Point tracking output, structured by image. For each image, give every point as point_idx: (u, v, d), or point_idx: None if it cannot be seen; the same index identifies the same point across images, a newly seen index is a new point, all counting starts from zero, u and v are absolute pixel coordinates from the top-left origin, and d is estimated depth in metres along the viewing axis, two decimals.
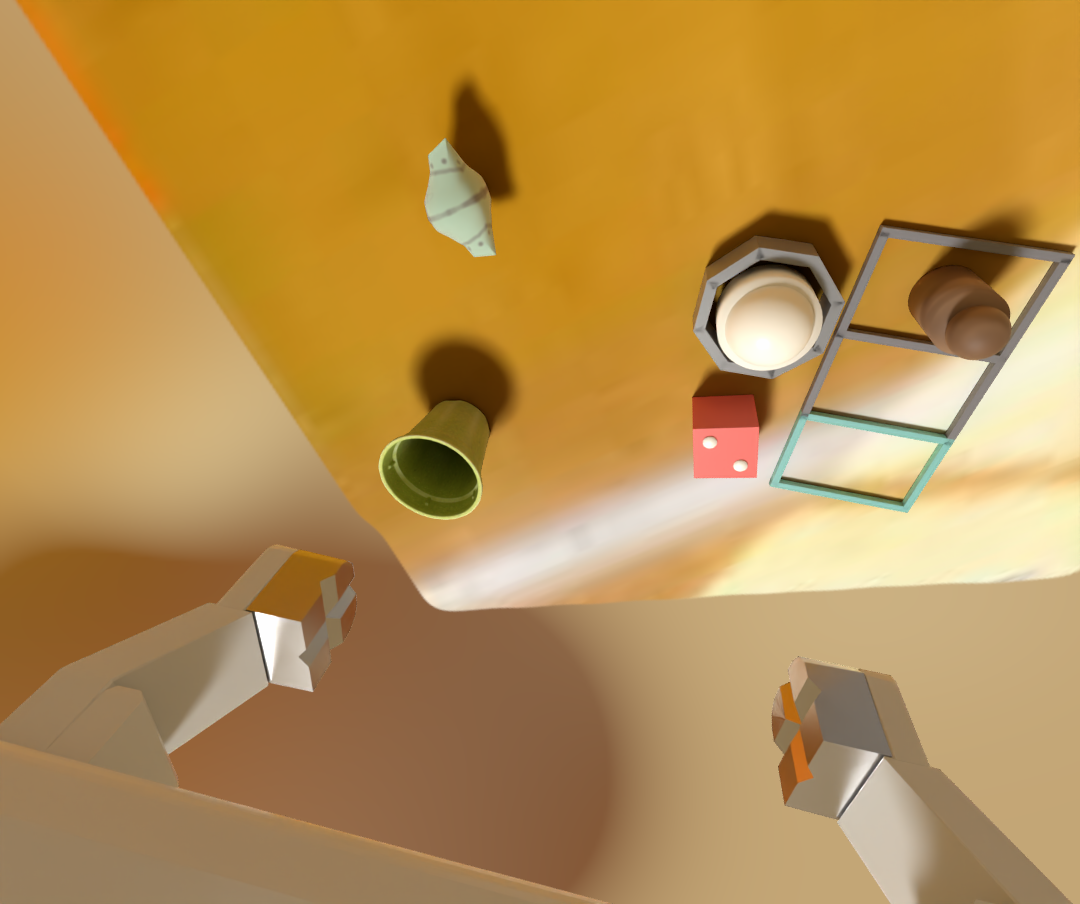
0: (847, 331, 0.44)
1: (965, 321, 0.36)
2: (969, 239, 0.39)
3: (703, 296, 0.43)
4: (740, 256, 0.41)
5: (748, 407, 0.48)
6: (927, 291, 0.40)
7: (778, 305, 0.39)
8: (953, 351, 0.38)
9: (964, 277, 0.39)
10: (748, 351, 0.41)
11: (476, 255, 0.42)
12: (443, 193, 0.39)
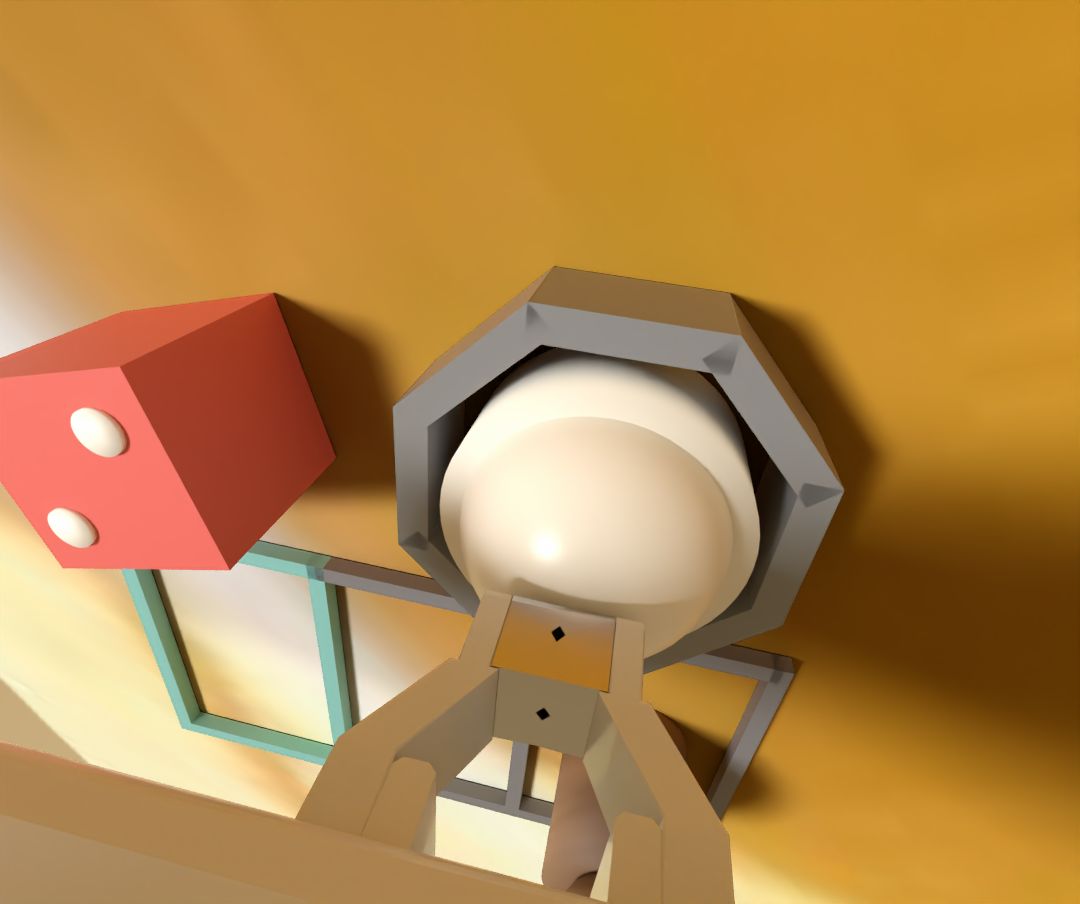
0: None
1: None
2: None
3: (673, 327, 0.11)
4: (806, 428, 0.12)
5: (292, 479, 0.16)
6: None
7: (696, 603, 0.11)
8: None
9: None
10: (526, 546, 0.11)
11: None
12: None
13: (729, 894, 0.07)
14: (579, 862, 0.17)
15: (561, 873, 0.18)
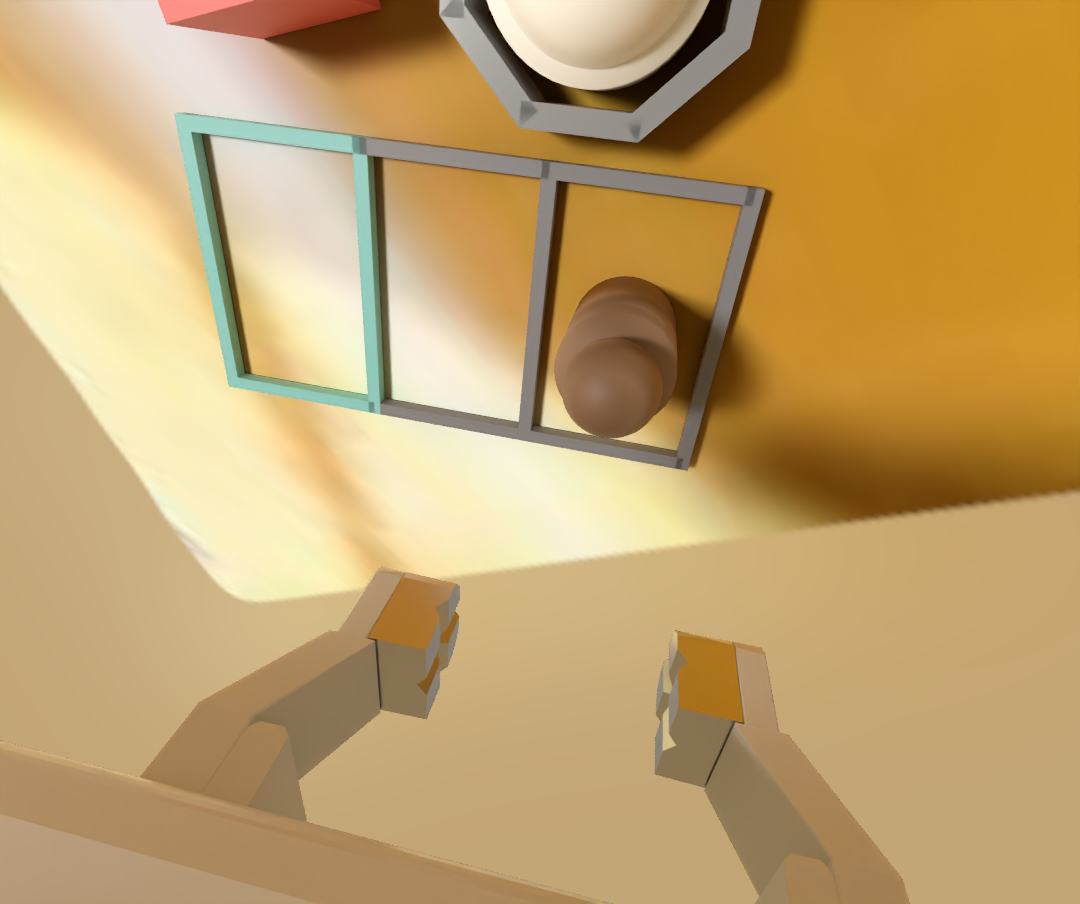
0: (555, 182, 0.22)
1: (641, 362, 0.19)
2: (723, 337, 0.24)
3: None
4: None
5: None
6: (649, 297, 0.22)
7: None
8: (577, 360, 0.19)
9: None
10: None
11: None
12: None
13: None
14: (586, 335, 0.21)
15: (571, 358, 0.21)
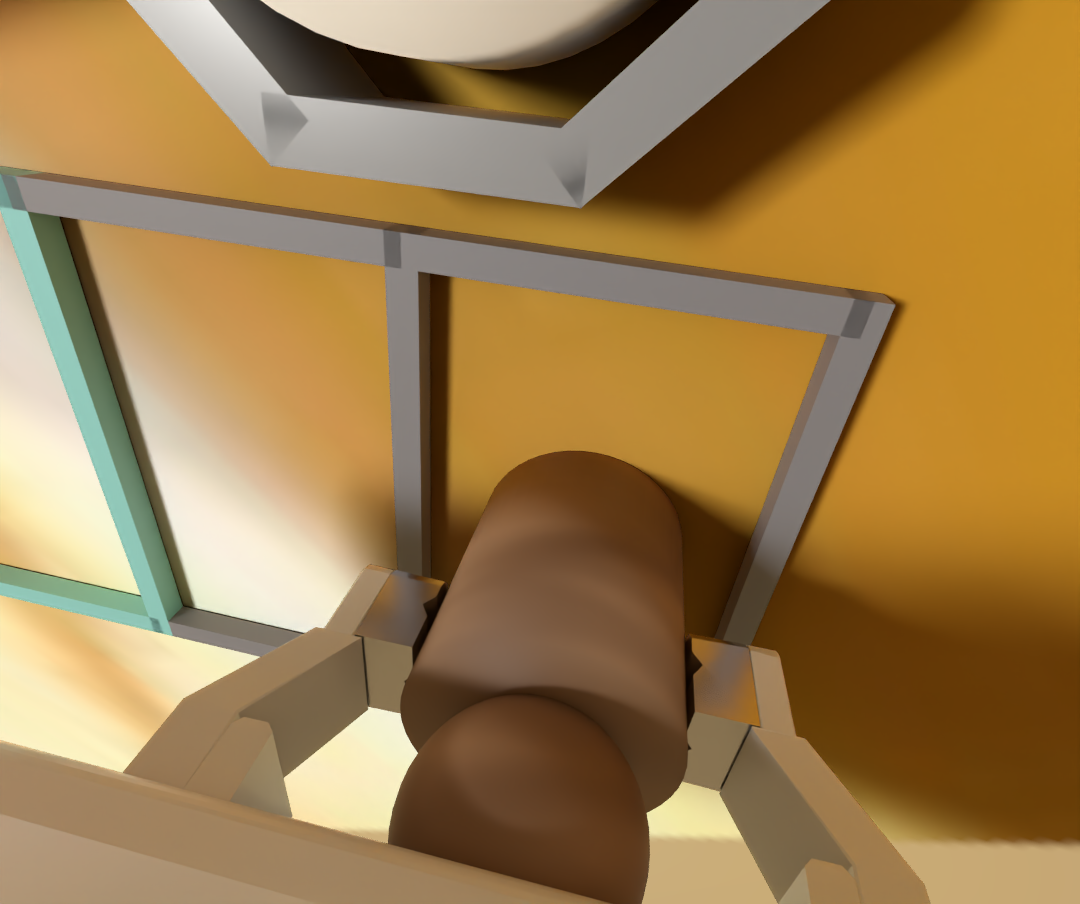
0: (416, 276, 0.10)
1: (588, 845, 0.07)
2: (778, 573, 0.12)
3: None
4: None
5: None
6: (623, 526, 0.10)
7: None
8: (414, 810, 0.07)
9: None
10: None
11: None
12: None
13: None
14: (464, 672, 0.08)
15: (435, 706, 0.09)
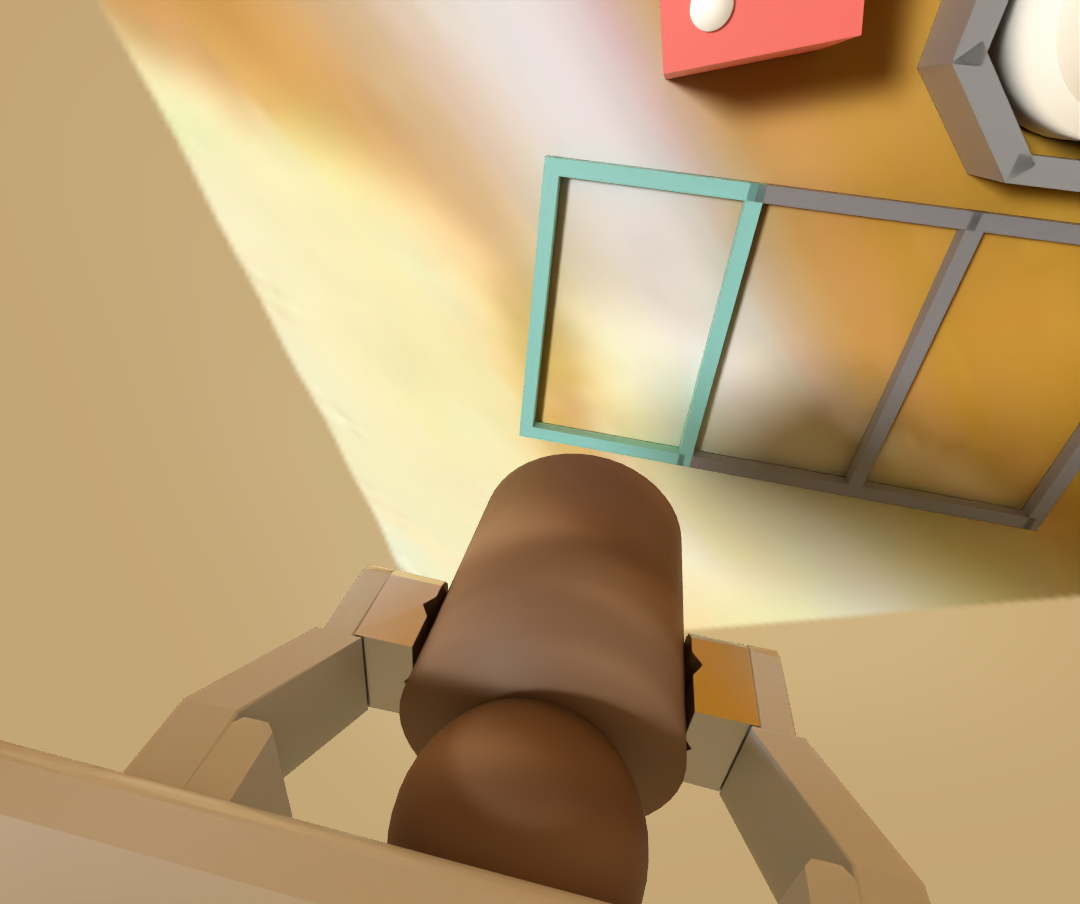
0: (980, 234, 0.21)
1: (586, 849, 0.07)
2: None
3: None
4: None
5: None
6: (622, 529, 0.10)
7: None
8: (412, 815, 0.07)
9: (683, 626, 0.11)
10: None
11: None
12: None
13: None
14: (463, 675, 0.08)
15: (434, 709, 0.09)
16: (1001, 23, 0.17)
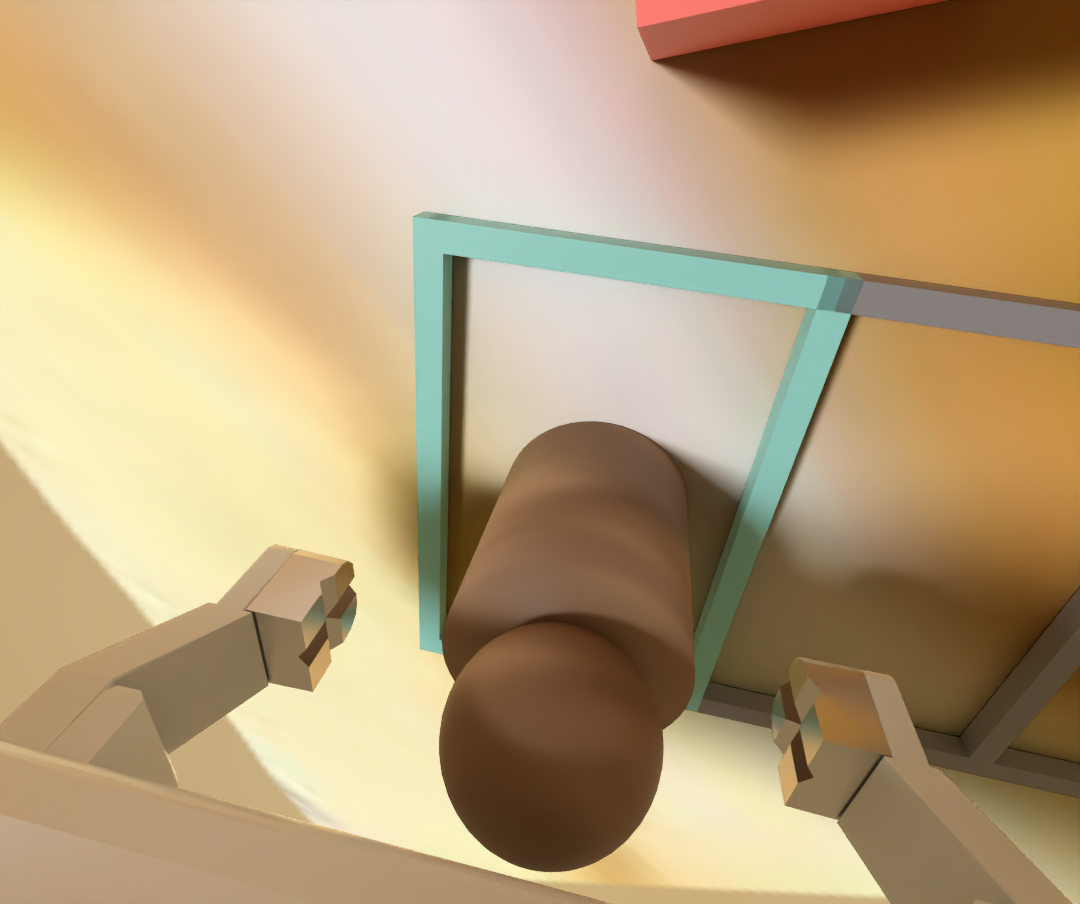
0: None
1: (613, 731, 0.08)
2: None
3: None
4: None
5: None
6: (636, 484, 0.11)
7: None
8: (464, 708, 0.08)
9: (690, 571, 0.12)
10: None
11: None
12: None
13: None
14: (500, 603, 0.10)
15: (473, 636, 0.10)
16: None
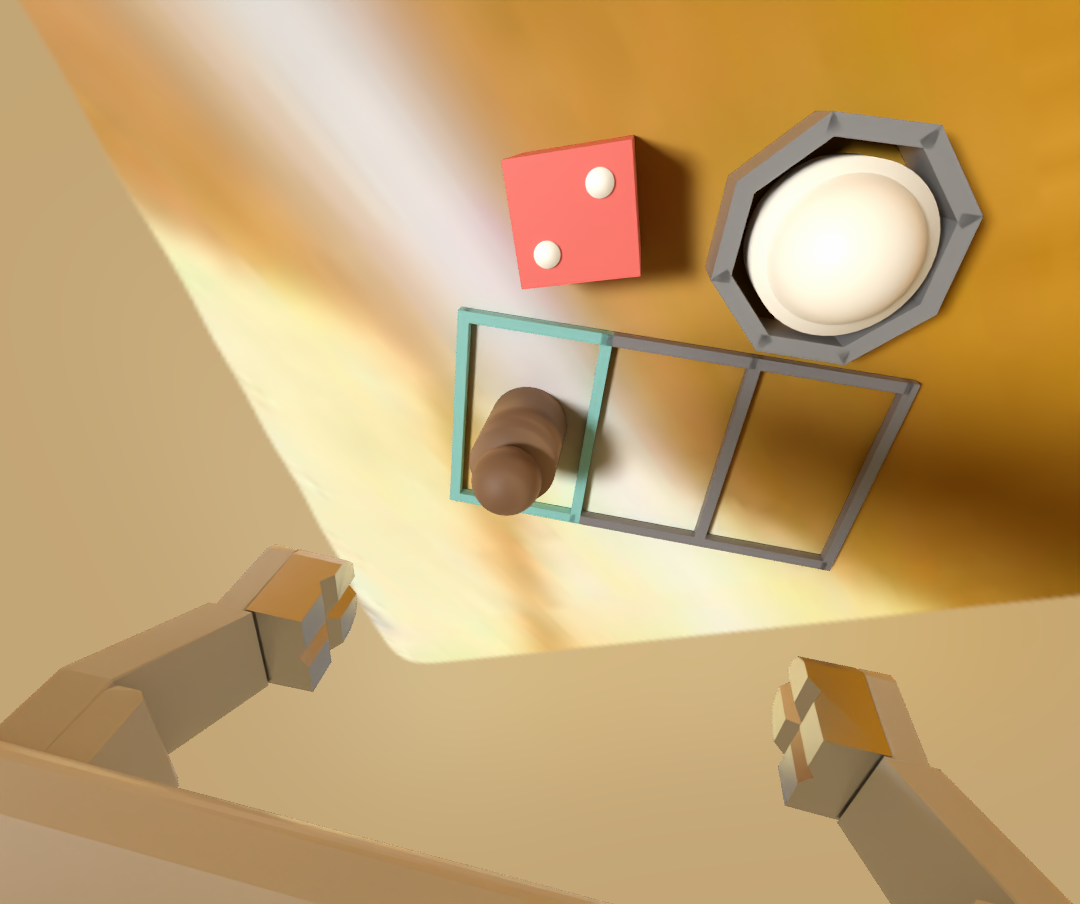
0: (759, 372, 0.30)
1: (523, 466, 0.27)
2: (873, 478, 0.32)
3: (907, 122, 0.22)
4: None
5: None
6: (540, 407, 0.31)
7: (916, 264, 0.22)
8: (480, 464, 0.28)
9: (561, 441, 0.31)
10: (841, 226, 0.22)
11: None
12: None
13: None
14: (490, 441, 0.29)
15: (481, 456, 0.30)
16: (746, 251, 0.26)
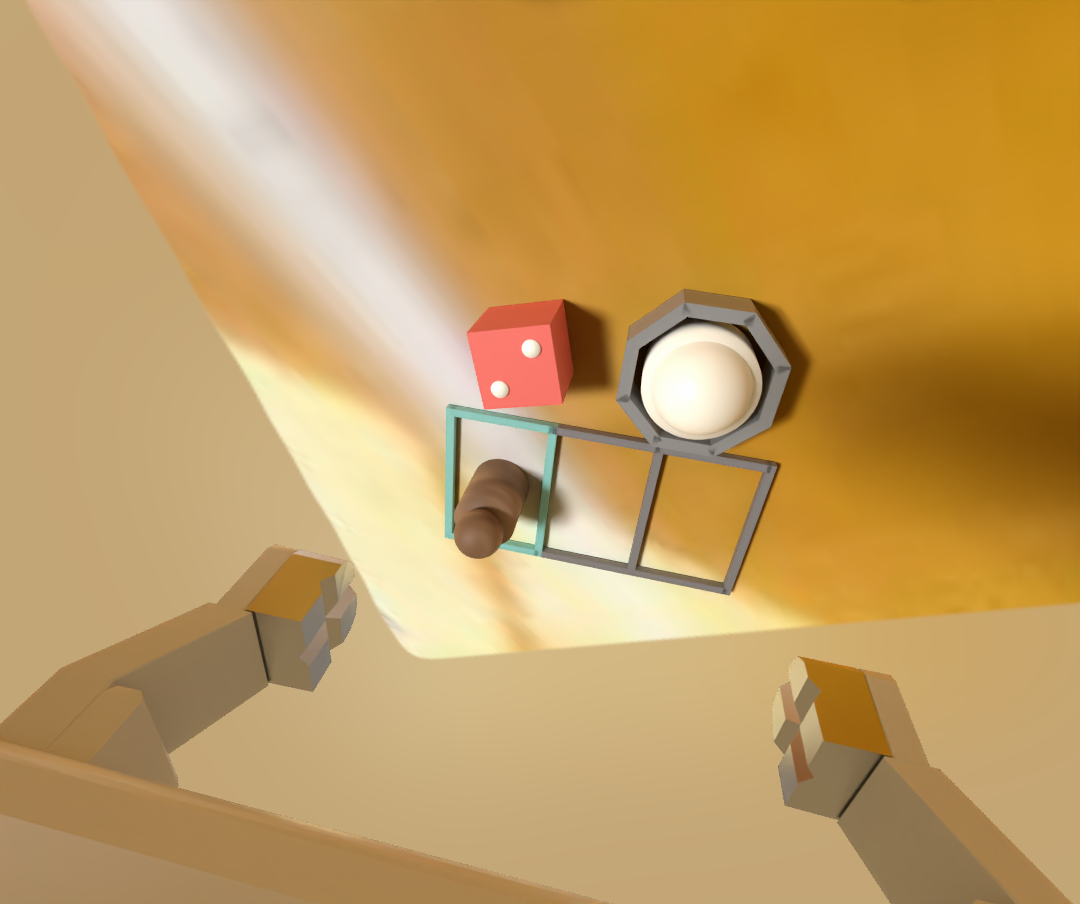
0: (662, 455, 0.41)
1: (488, 526, 0.39)
2: (753, 530, 0.43)
3: (733, 310, 0.33)
4: (778, 346, 0.34)
5: (568, 376, 0.38)
6: (506, 477, 0.43)
7: (741, 403, 0.33)
8: (459, 523, 0.39)
9: (521, 501, 0.43)
10: (686, 381, 0.33)
11: None
12: None
13: None
14: (468, 505, 0.41)
15: (461, 514, 0.41)
16: None
